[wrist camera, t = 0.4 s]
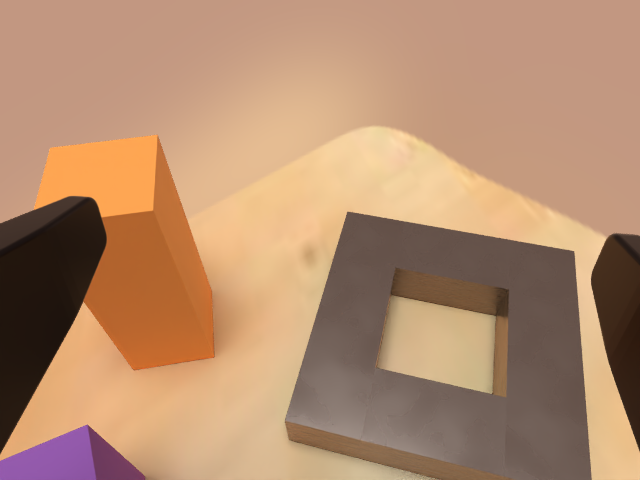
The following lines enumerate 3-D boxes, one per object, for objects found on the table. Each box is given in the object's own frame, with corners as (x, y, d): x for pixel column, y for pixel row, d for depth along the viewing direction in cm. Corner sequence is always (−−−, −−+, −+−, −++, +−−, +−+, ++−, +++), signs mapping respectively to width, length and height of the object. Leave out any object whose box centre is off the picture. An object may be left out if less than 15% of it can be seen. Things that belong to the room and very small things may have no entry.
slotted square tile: (568, 512, 21) (593, 499, 19) (289, 439, 23) (284, 420, 21) (557, 278, 28) (574, 251, 26) (346, 239, 30) (347, 211, 28)
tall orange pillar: (214, 357, 25) (153, 210, 17) (133, 370, 25) (29, 227, 16) (211, 291, 28) (157, 134, 19) (138, 302, 27) (50, 147, 19)
